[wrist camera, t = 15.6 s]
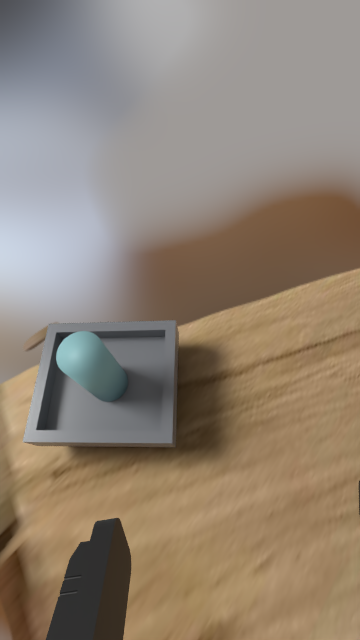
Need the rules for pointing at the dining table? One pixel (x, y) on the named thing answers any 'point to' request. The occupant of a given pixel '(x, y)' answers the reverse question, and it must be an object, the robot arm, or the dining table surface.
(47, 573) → the dining table surface
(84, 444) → the grey square tray
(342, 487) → the dining table surface
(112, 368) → the teal cylinder
